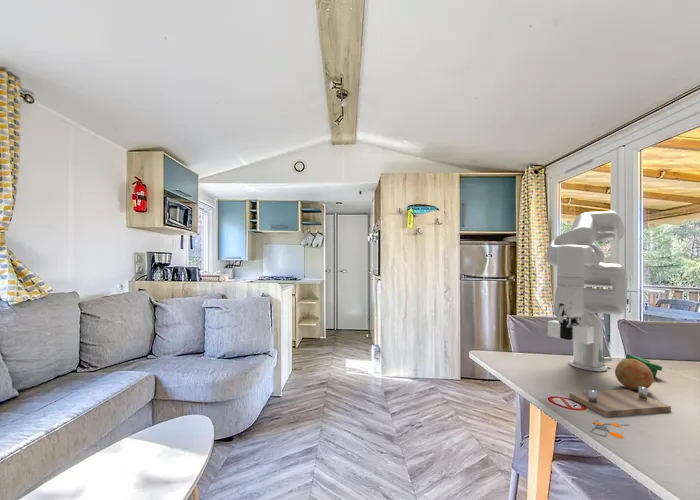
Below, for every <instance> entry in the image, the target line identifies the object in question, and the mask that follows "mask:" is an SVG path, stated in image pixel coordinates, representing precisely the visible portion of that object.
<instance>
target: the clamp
mask: <svg viewBox="0 0 700 500" xmlns="http://www.w3.org/2000/svg"><path fill="white" fill-rule="evenodd" d="M625 359H635V360H638V361H640V362H642V363H644V364H645V365H646V366H647V367H648V368H649V369H650V370H651V372H652V374H653V377H654V378H656V376H657V374H658V371H662V370H663V366H661V365H659V364H656V363H652V362H650V360H647V359H646V358H642V357H639V356H636V355H633V354H629V353H626V356H625Z"/></svg>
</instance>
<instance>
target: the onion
mask: <svg viewBox="0 0 700 500" xmlns="http://www.w3.org/2000/svg"><path fill="white" fill-rule="evenodd" d="M614 374H615V378H616V379H617V381H618V382H619V383H620V384H622V385H623V386H624V387H626V389H629V390H632V391H633V390H634V391H639V386H641V387H646V388H647V389H648V388H650V387H651V386H652V384H654V380H655V379H654V378H655V377H653V374H652V372H651V370H650V369H649V368H648V367H647V366H646V365H645V364H644V363H642V362H640V361H638V360H635V359H626V358H624V359H622V360H621V361H619V362H618V363H617V365H616V367H615V369H614Z"/></svg>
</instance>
